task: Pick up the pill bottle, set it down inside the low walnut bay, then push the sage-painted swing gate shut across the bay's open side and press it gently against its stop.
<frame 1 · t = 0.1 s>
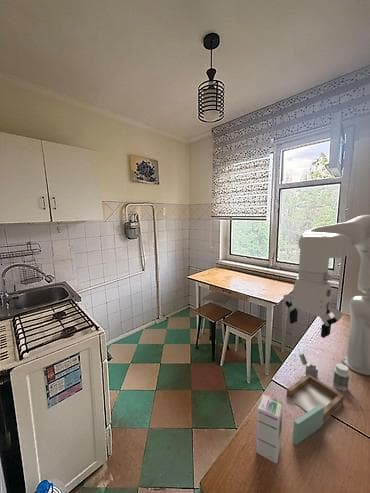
hand: (308, 328, 67), 31 cm above the table, tool pointing down, fingers open, 9 cm apart
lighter: (307, 374, 91), on the table
gate: (308, 423, 65), point 4 cm above the table, hinge at 85.0°
bay: (314, 399, 78), on the table
syrup box: (268, 449, 62), on the table
pill bottle: (340, 386, 84), on the table
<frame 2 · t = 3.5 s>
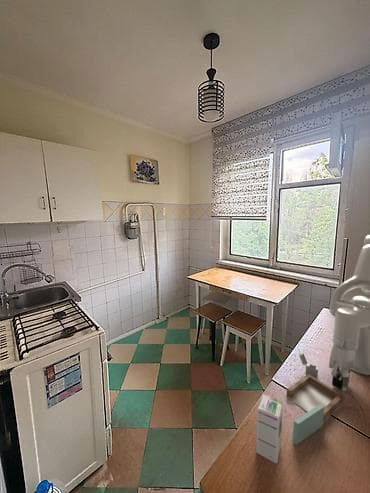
hand: (340, 383, 84), 1 cm above the table, tool pointing down, fingers closed on pill bottle, 4 cm apart
pill bottle: (340, 386, 84), on the table, touching gripper
everything else where it was.
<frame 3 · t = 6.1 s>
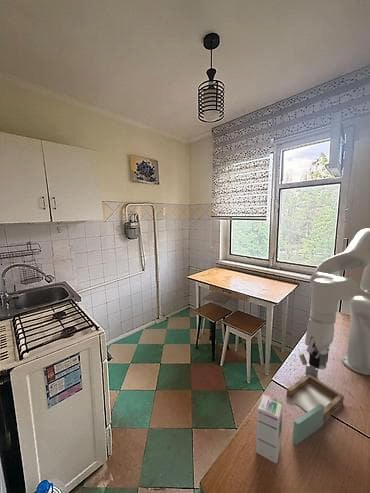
hand: (318, 362, 76), 15 cm above the table, tool pointing down, fingers closed on pill bottle, 4 cm apart
pill bottle: (317, 365, 76), point 13 cm above the table, touching gripper
everything else where it was.
when the fingers open (3 cm above the table, at t = 8.4 s): pill bottle drops 2 cm, resting on bay.
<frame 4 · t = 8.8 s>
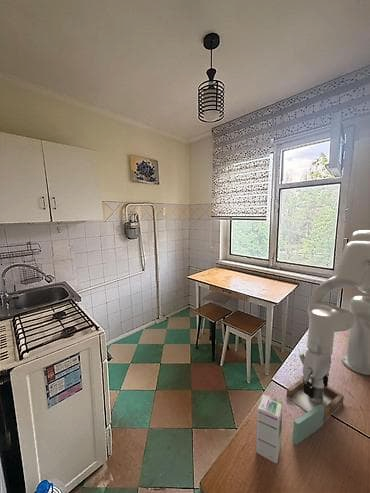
hand: (315, 389, 78), 4 cm above the table, tool pointing down, fingers open, 8 cm apart
pill bottle: (315, 398, 78), resting on bay
everything else where it was.
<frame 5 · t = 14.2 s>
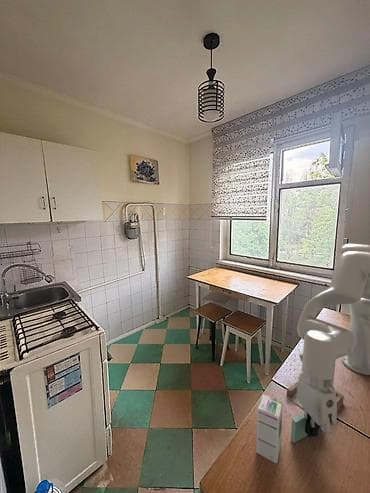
hand: (311, 433, 62), 4 cm above the table, tool pointing down, fingers closed
gate: (307, 422, 66), point 4 cm above the table, hinge at 82.1°, touching gripper
everything else where it was.
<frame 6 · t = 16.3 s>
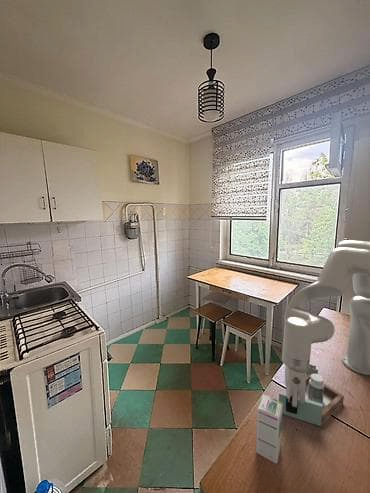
hand: (291, 410, 69), 4 cm above the table, tool pointing down, fingers closed
gate: (299, 408, 71), point 4 cm above the table, hinge at 34.7°, touching gripper
everything else where it was.
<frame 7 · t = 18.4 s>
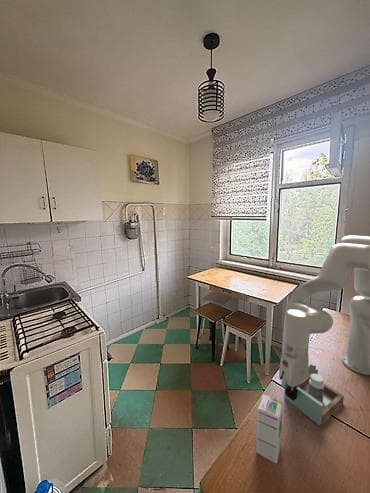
hand: (290, 396, 74), 5 cm above the table, tool pointing down, fingers closed
gate: (302, 400, 73), point 4 cm above the table, hinge at -0.5°, touching gripper
everything else where it was.
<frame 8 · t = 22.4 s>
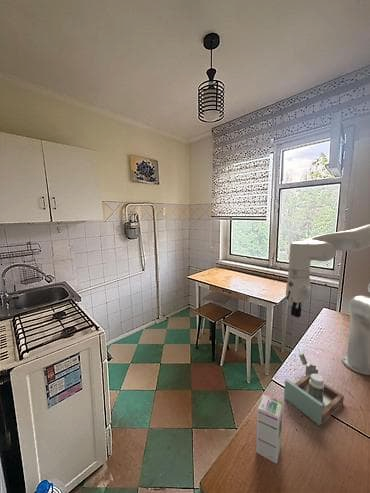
hand: (295, 315, 89), 25 cm above the table, tool pointing down, fingers closed
gate: (302, 400, 73), point 4 cm above the table, hinge at -0.5°
everything else where it was.
at the end: pill bottle inside the target area on the bay (0.8 cm from its centre), point 0.1 cm above the bay's base; pill bottle tilted 0°; gate at +0° (first picture: +85°) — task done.
